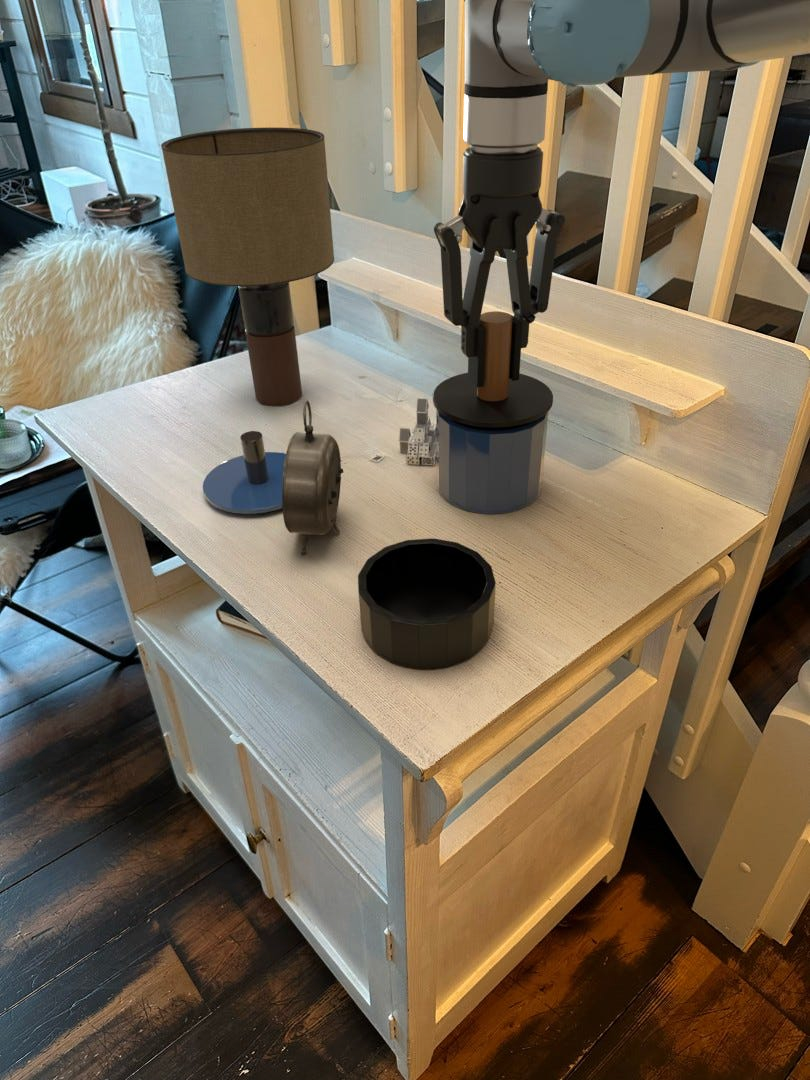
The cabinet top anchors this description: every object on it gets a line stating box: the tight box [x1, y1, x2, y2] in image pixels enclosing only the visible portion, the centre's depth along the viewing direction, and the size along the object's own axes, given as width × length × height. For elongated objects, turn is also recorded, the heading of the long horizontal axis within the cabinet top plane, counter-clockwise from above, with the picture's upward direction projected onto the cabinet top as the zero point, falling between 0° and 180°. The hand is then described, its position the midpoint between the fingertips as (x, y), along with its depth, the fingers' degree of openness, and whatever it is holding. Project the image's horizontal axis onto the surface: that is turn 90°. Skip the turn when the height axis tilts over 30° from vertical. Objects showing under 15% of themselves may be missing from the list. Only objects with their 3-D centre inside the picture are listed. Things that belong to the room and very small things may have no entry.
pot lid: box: [202, 430, 286, 515], centre depth 92 cm, size 14×14×7 cm
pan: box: [357, 538, 497, 671], centre depth 72 cm, size 13×13×6 cm
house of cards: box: [369, 397, 437, 467], centre depth 99 cm, size 9×9×8 cm
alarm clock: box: [281, 399, 344, 556], centre depth 81 cm, size 11×5×16 cm, turn 174°
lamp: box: [160, 127, 335, 407], centre depth 105 cm, size 20×20×35 cm
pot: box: [435, 408, 549, 515], centre depth 90 cm, size 13×13×10 cm
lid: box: [432, 310, 554, 427], centre depth 84 cm, size 14×14×10 cm
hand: (493, 378), depth 85 cm, fingers closed on lid, 4 cm apart
